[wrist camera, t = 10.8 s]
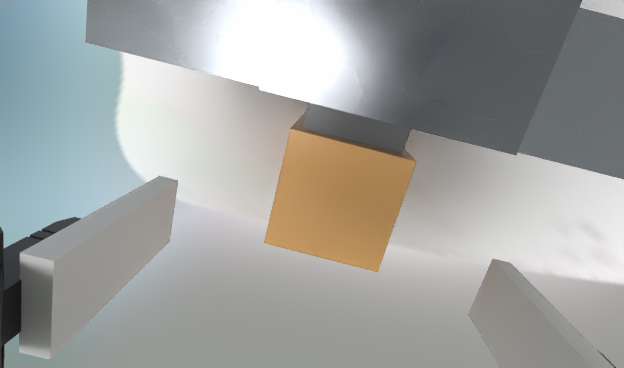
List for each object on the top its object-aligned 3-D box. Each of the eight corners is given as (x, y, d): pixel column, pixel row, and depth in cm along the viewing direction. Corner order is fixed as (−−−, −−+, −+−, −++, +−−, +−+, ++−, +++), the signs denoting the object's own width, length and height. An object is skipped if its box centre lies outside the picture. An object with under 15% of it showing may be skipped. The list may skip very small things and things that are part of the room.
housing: (505, 67, 23) (813, 49, 8) (482, 127, 24) (715, 205, 9) (238, -1, 23) (58, -146, 8) (228, 62, 24) (54, 37, 9)
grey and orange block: (367, -145, 21) (391, -305, 12) (467, -118, 21) (562, -257, 12) (287, 189, 27) (264, 242, 18) (364, 209, 27) (377, 271, 18)
